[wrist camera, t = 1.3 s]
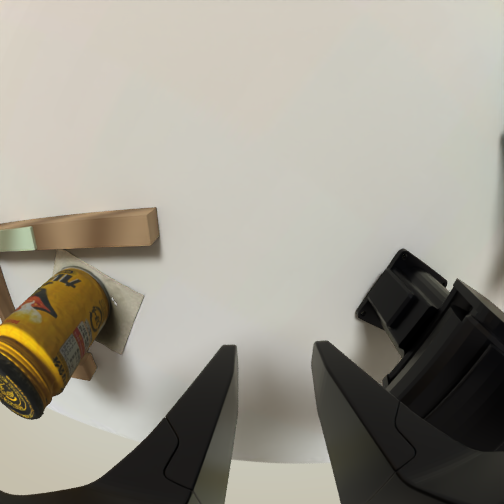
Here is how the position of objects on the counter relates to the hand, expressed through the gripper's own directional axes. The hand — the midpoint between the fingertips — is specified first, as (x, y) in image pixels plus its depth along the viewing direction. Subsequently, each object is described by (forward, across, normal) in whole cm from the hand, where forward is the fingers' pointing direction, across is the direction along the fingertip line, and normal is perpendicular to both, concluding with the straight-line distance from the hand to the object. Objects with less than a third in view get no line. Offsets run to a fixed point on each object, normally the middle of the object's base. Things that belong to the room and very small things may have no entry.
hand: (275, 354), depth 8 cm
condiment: (+12, +14, +6) cm, 20 cm away
